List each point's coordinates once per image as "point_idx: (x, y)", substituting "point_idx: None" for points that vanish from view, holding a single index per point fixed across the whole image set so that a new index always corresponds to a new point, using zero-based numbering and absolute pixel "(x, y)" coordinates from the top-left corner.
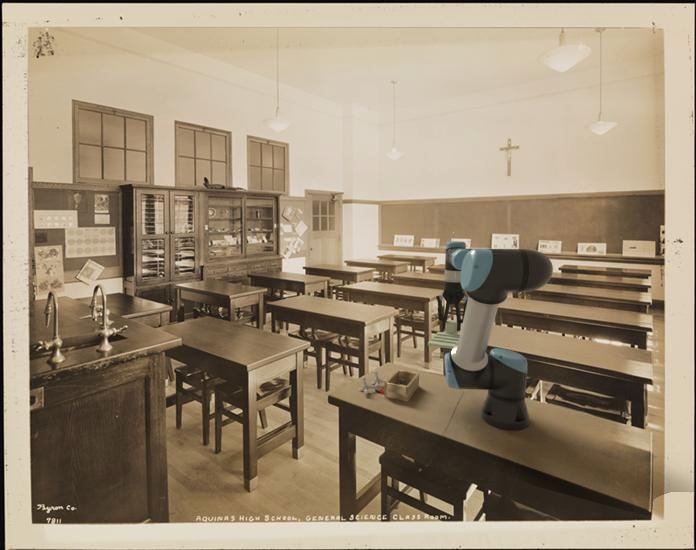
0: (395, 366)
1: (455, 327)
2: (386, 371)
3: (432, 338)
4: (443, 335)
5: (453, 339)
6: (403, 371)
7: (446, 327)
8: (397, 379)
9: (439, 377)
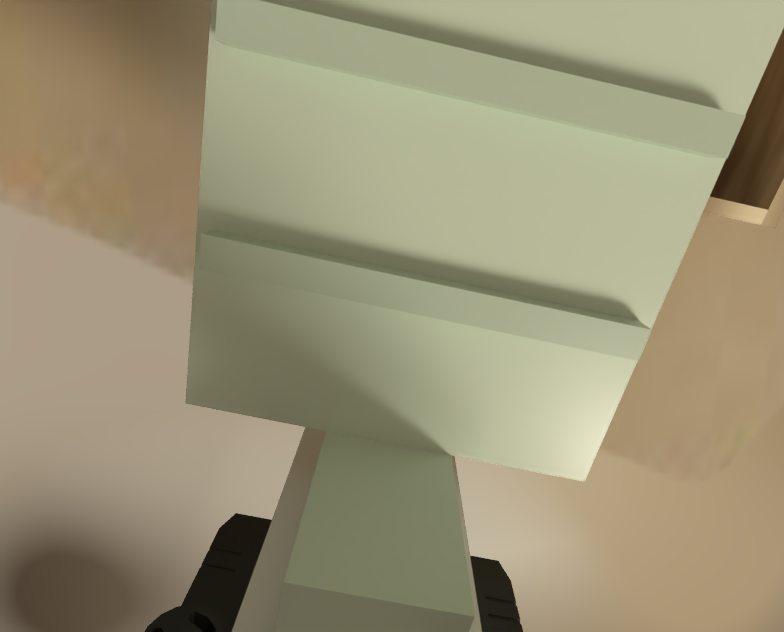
0: (687, 456)
1: (283, 562)
2: (751, 377)
3: (772, 26)
4: (510, 293)
5: (316, 18)
6: (731, 202)
7: (461, 529)
8: (738, 178)
9: None
